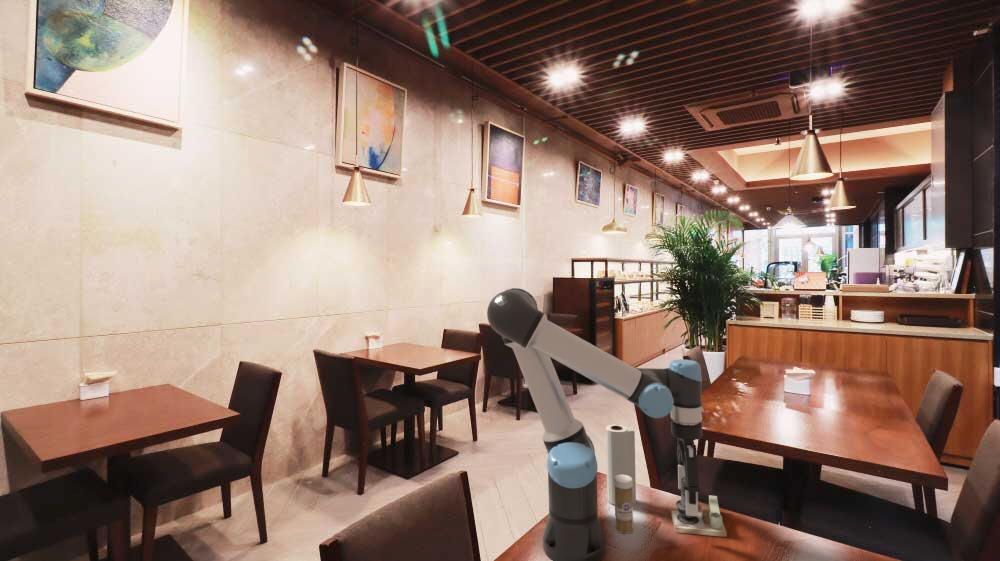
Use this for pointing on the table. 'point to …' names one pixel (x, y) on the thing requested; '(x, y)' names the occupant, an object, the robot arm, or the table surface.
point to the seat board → (698, 524)
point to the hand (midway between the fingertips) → (687, 501)
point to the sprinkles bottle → (623, 503)
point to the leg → (715, 513)
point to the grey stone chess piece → (682, 507)
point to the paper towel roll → (620, 458)
